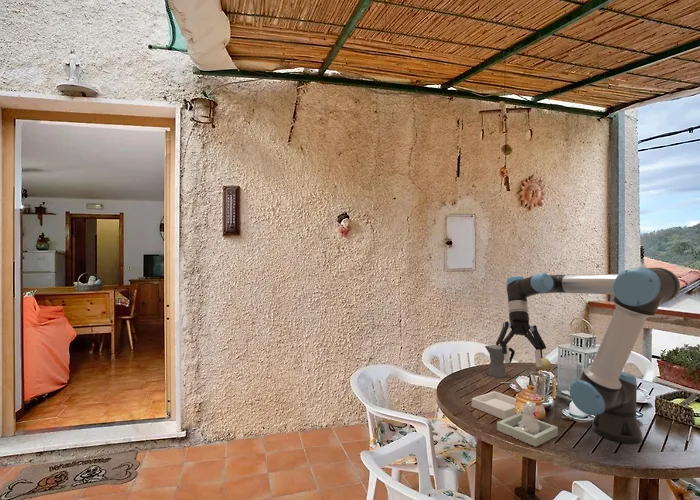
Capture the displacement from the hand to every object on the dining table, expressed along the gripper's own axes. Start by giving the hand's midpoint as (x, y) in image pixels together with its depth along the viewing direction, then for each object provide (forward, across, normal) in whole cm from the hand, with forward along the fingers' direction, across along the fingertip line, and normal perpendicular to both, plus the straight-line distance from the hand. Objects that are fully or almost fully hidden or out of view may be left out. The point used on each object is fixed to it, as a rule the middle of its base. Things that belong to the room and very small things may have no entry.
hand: (523, 364), depth 155 cm
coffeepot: (-4, -22, -57) cm, 61 cm away
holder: (+25, +1, 0) cm, 25 cm away
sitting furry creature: (+25, +1, 0) cm, 25 cm away
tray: (+16, +1, -20) cm, 25 cm away
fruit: (-9, -49, -59) cm, 77 cm away
